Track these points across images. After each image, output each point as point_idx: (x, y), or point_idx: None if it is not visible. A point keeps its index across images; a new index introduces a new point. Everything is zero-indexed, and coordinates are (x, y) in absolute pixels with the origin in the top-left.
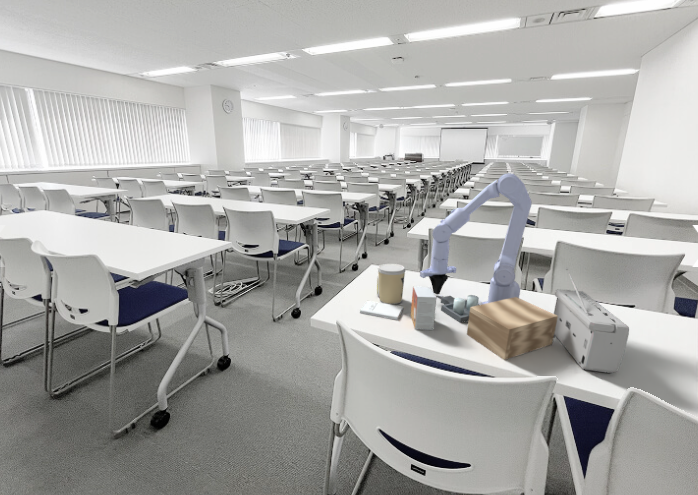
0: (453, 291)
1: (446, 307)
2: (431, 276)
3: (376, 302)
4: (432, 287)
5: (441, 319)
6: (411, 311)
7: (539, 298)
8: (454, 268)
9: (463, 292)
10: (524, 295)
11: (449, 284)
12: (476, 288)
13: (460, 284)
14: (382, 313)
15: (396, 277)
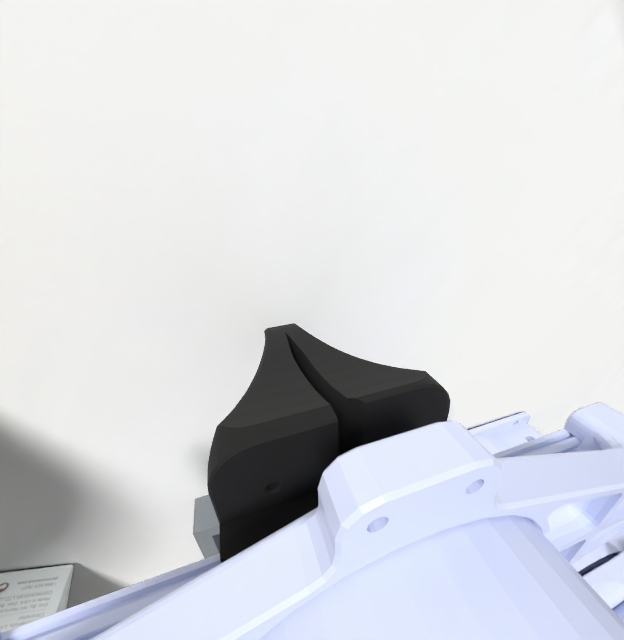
0: (436, 291)
1: (211, 547)
2: (224, 523)
3: None
4: (264, 347)
5: (150, 564)
6: None
7: (616, 407)
8: (619, 524)
9: (471, 317)
10: (615, 383)
11: (517, 158)
12: (570, 283)
13: (569, 191)
14: None
15: None
